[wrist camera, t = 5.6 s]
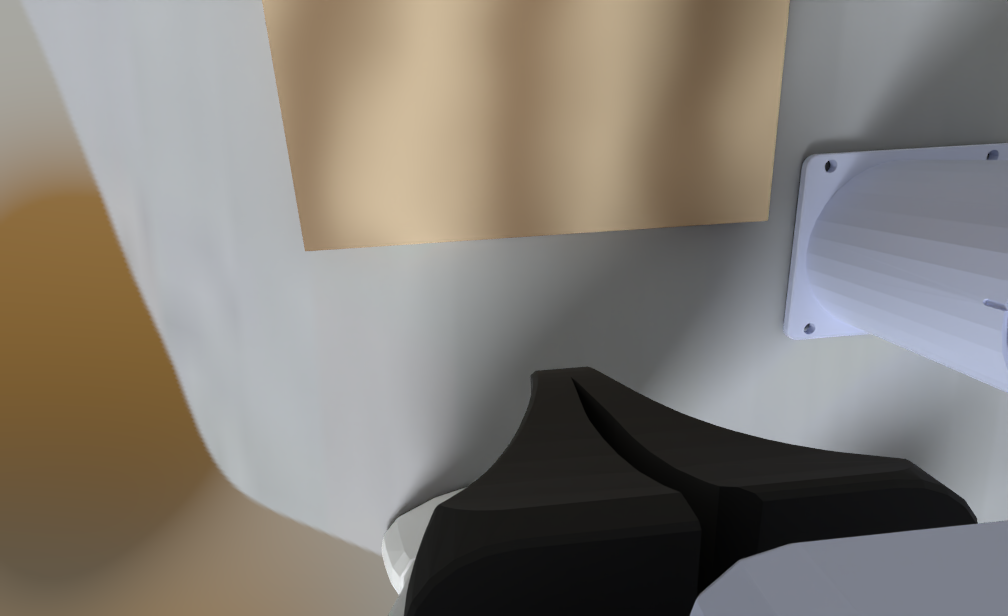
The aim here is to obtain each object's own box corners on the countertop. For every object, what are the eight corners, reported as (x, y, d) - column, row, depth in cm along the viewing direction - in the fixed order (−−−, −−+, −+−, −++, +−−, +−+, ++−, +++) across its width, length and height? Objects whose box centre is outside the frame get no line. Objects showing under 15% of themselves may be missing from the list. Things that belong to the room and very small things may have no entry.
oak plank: (771, -59, 18) (797, -77, 17) (747, 216, 21) (767, 220, 20) (269, -43, 17) (251, -61, 16) (316, 244, 20) (305, 251, 19)
